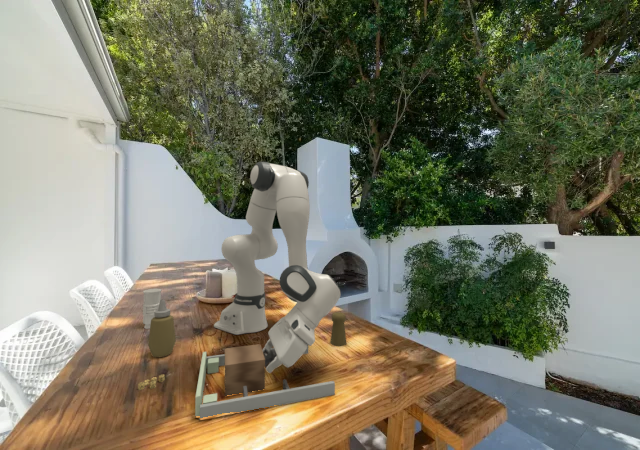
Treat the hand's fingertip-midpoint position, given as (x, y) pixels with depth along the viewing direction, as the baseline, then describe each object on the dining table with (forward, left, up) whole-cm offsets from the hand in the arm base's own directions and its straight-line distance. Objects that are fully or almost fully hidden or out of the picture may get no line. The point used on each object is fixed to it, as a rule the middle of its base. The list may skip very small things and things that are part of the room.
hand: (264, 362), depth 79 cm
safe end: (-11, -10, -5) cm, 15 cm away
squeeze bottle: (-40, 0, -5) cm, 40 cm away
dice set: (-27, -14, -6) cm, 31 cm away
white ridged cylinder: (-66, +16, -5) cm, 68 cm away
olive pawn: (+11, +32, -5) cm, 34 cm away
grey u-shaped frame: (0, 0, -5) cm, 5 cm away
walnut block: (-4, -4, -5) cm, 7 cm away
